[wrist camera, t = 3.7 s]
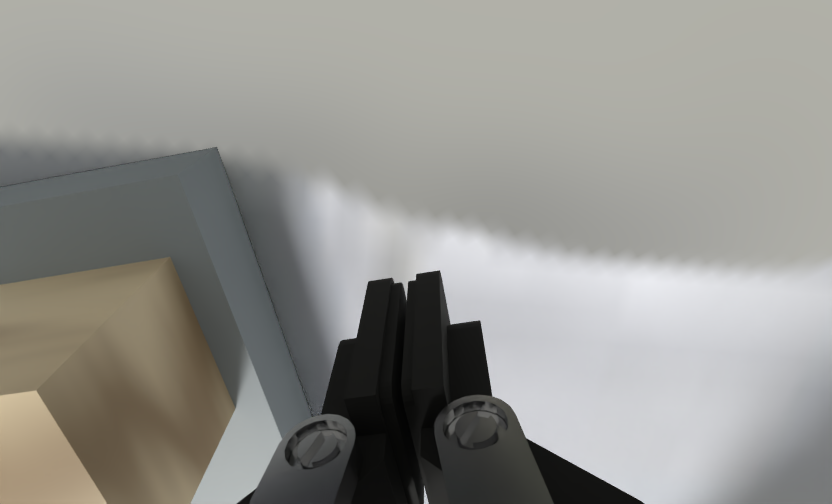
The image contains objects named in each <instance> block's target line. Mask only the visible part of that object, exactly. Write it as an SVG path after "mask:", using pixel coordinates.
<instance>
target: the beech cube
mask: <svg viewBox="0 0 832 504" xmlns="http://www.w3.org/2000/svg"><path fill="white" fill-rule="evenodd" d="M235 409H236V408H235V406H234V404H233V401H232V399H231V397H230V395H229V392H228V390H227V388H226V385H225V383H224V381H223V378H222V376H221V374H220V371H219V369H218V367H217V364H216V362H215V360H214V357H213V355H212V353H211V350H210V348H209V346H208V343H207V341H206V339H205V336H204V334H203V332H202V329H201V327H200V325H199V323H198V320H197V318H196V316H195V313H194V311H193V309H192V306H191V304H190V302H189V299H188V297H187V295H186V292H185V290H184V288H183V285H182V283H181V281H180V278H179V276H178V274H177V271H176V269H175V267H174V264H173V262H172V260H171V257H167V258H161V259H155V260H149V261H142V262H136V263H130V264H124V265H118V266H112V267H106V268H100V269H94V270H87V271H81V272H75V273H69V274H63V275H57V276H51V277H45V278H38V279H32V280H26V281H20V282H14V283H8V284H2V285H0V504H190V503H191V501H192V499H193V497H194V495H195V493H196V491H197V489H198V486H199V484H200V482H201V480H202V478H203V476H204V474H205V472H206V470H207V468H208V465H209V463H210V461H211V459H212V457H213V455H214V453H215V451H216V449H217V447H218V444H219V442H220V440H221V438H222V436H223V434H224V432H225V430H226V428H227V426H228V423H229V421H230V419H231V417H232V415H233V413H234V411H235Z"/></svg>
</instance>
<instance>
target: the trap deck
mask: <svg viewBox="0 0 832 504" xmlns="http://www.w3.org/2000/svg"><path fill="white" fill-rule="evenodd" d="M167 257H171V260H172V262H173V264H174V267H175V269H176V271H177V274H178V276H179V278H180V281H181V283H182V285H183V288H184V290H185V292H186V295H187V297H188V299H189V302H190V304H191V306H192V309H193V311H194V313H195V316H196V318H197V320H198V323H199V325H200V327H201V329H202V332H203V334H204V336H205V339H206V341H207V343H208V346H209V348H210V350H211V353H212V355H213V357H214V360H215V362H216V364H217V367H218V369H219V371H220V374H221V376H222V378H223V381H224V383H225V385H226V388H227V390H228V392H229V395H230V397H231V399H232V401H233V404H234V406H235V408H236V409H235V411H234V413H233V415H232V417H231V419H230V421H229V423H228V426H227V428H226V430H225V432H224V434H223V436H222V438H221V440H220V442H219V444H218V447H217V449H216V451H215V453H214V455H213V457H212V459H211V461H210V463H209V465H208V468H207V470H206V472H205V474H204V476H203V478H202V480H201V482H200V484H199V486H198V489H197V491H196V493H195V495H194V497H193V499H192V501H191V503H190V504H237V503H238V502H239V501H240V500H242V499H243V498H244V497H246V496H247V495H248V494H250V493H251V492H252V491H253V490H255V489H256V488H257V486H258V484H259V482H260V480H261V478H262V476H263V474H264V472H265V471H266V469H267V467H268V465H269V463H270V461H271V459H272V457H273V455H274V453H275V451H276V449H277V447H278V445H279V443H280V442H281V440H282V439H283V437H284V436H285V434H286V433H288V432H289V431H290V430H291V429H292V428H293V427H294V426H296V425H297V424H299V423H301V422H302V421H304V420H306V419H309V418H311V417H312V415H311V412H310V409H309V407H308V404H307V401H306V398H305V395H304V392H303V390H302V387H301V384H300V381H299V378H298V375H297V373H296V370H295V367H294V364H293V361H292V358H291V356H290V353H289V350H288V347H287V344H286V341H285V339H284V336H283V333H282V330H281V327H280V324H279V322H278V319H277V316H276V313H275V310H274V307H273V305H272V302H271V299H270V296H269V293H268V290H267V288H266V285H265V282H264V279H263V276H262V273H261V271H260V268H259V265H258V262H257V259H256V256H255V254H254V251H253V248H252V245H251V242H250V239H249V237H248V234H247V231H246V228H245V225H244V222H243V220H242V217H241V214H240V211H239V208H238V205H237V203H236V200H235V197H234V194H233V191H232V188H231V186H230V183H229V180H228V177H227V174H226V171H225V169H224V166H223V163H222V160H221V157H220V154H219V152H218V149H217V147H215V148H210V149H204V150H199V151H193V152H188V153H183V154H177V155H172V156H166V157H161V158H156V159H150V160H145V161H139V162H134V163H128V164H123V165H118V166H112V167H107V168H101V169H96V170H91V171H85V172H80V173H74V174H69V175H63V176H58V177H53V178H47V179H42V180H36V181H31V182H26V183H20V184H15V185H9V186H4V187H0V285H2V284H8V283H14V282H20V281H26V280H32V279H38V278H45V277H51V276H57V275H63V274H69V273H75V272H81V271H87V270H94V269H100V268H106V267H112V266H118V265H124V264H130V263H136V262H142V261H149V260H155V259H161V258H167Z"/></svg>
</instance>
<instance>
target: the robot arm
mask: <svg viewBox="0 0 832 504" xmlns="http://www.w3.org/2000/svg"><path fill="white" fill-rule="evenodd" d="M424 486H425V490H426V494H427V498H428V502H429V504H644V503H643V502H641V501H640V500H638V499H636V498H634V497H632V496H631V495H629V494H627V493H625V492H623V491H621V490H620V489H618V488H616V487H614V486H612V485H611V484H609V483H607V482H605V481H603V480H601V479H600V478H598V477H596V476H594V475H592V474H590V473H589V472H587V471H585V470H583V469H581V468H579V467H578V466H576V465H574V464H572V463H570V462H569V461H567V460H565V459H563V458H561V457H559V456H558V455H556V454H554V453H552V452H550V451H548V450H547V449H545V448H543V447H541V446H539V445H537V444H536V443H534V442H532V441H530V440H528V439H527V438H526V437H525V435H524V433H523V430H522V428H521V426H520V423H519V421H518V419H517V416H516V414H515V413H514V411H513V410H512V408H511V407H510V406H509V405H508V404H507V403H505V402H504V401H502V400H501V399H498V398H495V397H492V392H491V385H490V379H489V373H488V366H487V360H486V354H485V347H484V341H483V335H482V328H481V322H480V321H473V322H466V323H459V324H452V325H450V320H449V314H448V309H447V304H446V299H445V293H444V288H443V283H442V277H441V273H440V271H433V272H427V273H420V274H417V275H416V280H415V281H409V282H408V293H407V300H406V296H405V291H404V287H403V284H402V283H395V284H394V281H393V279H392V278H388V279H381V280H375V281H369V282H368V285H367V290H366V295H365V300H364V305H363V310H362V314H361V319H360V324H359V329H358V334H357V338H354V339H347V340H342V341H340V344H339V346H338V350H337V354H336V358H335V362H334V366H333V370H332V374H331V378H330V382H329V386H328V390H327V394H326V397H325V401H324V405H323V409H322V413H321V415H317V416H314V417H311V418H309V419H306V420H304V421H302V422H301V423H299V424H297V425H296V426H294V427H293V428H292V429H291V430H290V431H289V432H288V433H286V434H285V436H284V437H283V439H282V440H281V442H280V443H279V445H278V447H277V449H276V451H275V453H274V455H273V457H272V459H271V461H270V463H269V465H268V467H267V469H266V471H265V472H264V474H263V476H262V478H261V480H260V482H259V484H258V486H257V488H256V489H255V490H253V491H252V492H251V493H250V494H248V495H247V496H246V497H244V498H243V499H242V500H240V501H239V502H238V503H237V504H424Z"/></svg>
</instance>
